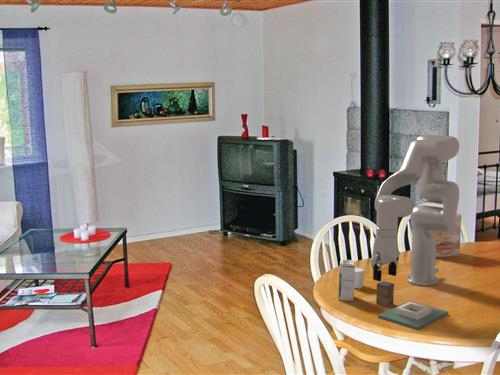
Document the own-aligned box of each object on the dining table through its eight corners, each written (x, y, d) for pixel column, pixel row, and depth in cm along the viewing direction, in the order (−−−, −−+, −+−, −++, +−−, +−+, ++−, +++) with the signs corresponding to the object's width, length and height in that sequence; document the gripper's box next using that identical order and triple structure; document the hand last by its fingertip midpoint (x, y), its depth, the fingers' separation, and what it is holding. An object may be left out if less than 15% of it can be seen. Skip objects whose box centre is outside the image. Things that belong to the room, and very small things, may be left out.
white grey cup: (363, 289, 265) (364, 272, 264) (346, 288, 267) (346, 271, 266) (364, 283, 272) (364, 267, 271) (347, 283, 273) (347, 266, 272)
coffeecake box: (430, 258, 307) (432, 216, 303) (423, 254, 314) (424, 213, 310) (460, 255, 311) (462, 214, 307) (451, 251, 317) (453, 211, 314)
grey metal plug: (383, 301, 252) (383, 280, 251) (393, 304, 249) (394, 283, 248) (376, 304, 249) (376, 283, 248) (386, 307, 246) (387, 286, 245)
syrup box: (338, 295, 259) (339, 259, 256) (354, 296, 258) (355, 259, 255) (338, 300, 253) (338, 263, 251) (354, 301, 252) (354, 264, 250)
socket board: (409, 303, 250) (409, 295, 249) (448, 314, 239) (448, 306, 238) (378, 317, 236) (378, 309, 235) (417, 329, 225) (418, 321, 224)
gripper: (391, 227, 253) (389, 271, 255) (364, 234, 241) (362, 280, 243) (408, 230, 247) (406, 275, 250) (381, 238, 235) (379, 284, 238)
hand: (384, 277), depth 247 cm, fingers open, 9 cm apart
